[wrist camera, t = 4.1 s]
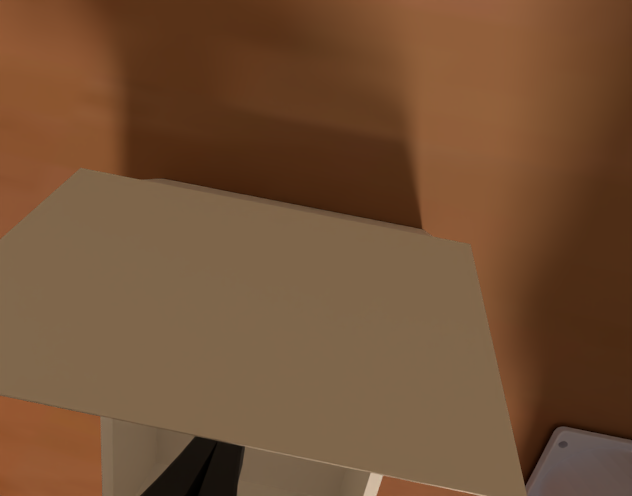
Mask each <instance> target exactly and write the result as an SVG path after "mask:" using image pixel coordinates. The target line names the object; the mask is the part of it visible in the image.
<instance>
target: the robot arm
mask: <svg viewBox="0 0 632 496" xmlns="http://www.w3.org/2000/svg"><path fill="white" fill-rule="evenodd" d="M244 452H245V446H240V445H235V444H230V443H226V442H221V441H216V440H211V439H206V438H202V437H197V436H195V437H194V438H193V439H192V441H191V442H190V443H189V444H188V445H187V446H186V447H185V449H184V450H183V451H182V452H181V453H180V454H179V455H178V457H177V458H176V459H175V460H174V461H173V462H172V463H171V464H170V465H169V466H168V467H167V468H166V470H165V471H164V472H163V473H162V474H161V475H160V476H159V477H158V478H157V479H156V480H155V481H154V482H153V483H152V484H151V485H150V486H149V487H148V488H147V489H146V490H145V491H144V492H143V493H142V494H141V495H140V496H237V487H238V481H239V477H240V473H241V469H242V465H243V458H244ZM525 489H526V493H527V496H632V440H628V439H623V438H619V437H614V436H609V435H604V434H599V433H594V432H589V431H584V430H579V429H574V428H570V427H558V428H556V429H555V431H554V432H553V434H552V436H551V438H550V440H549V442H548V444H547V446H546V448H545V450H544V452H543V453H542V455H541V457H540V459H539V461H538V463H537V465H536V467H535V469H534V471H533V473H532V475H531V477H530V478H529V480H528V482H527V484H526V486H525Z"/></svg>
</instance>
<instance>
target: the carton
mask: <svg viewBox="0 0 632 496" xmlns="http://www.w3.org/2000/svg"><path fill="white" fill-rule="evenodd" d="M145 181H150V182H155V183H160V184H165V185H170V186H175V187H181V188H186V189H191V190H196V191H201V192H206V193H211V194H216V195H221V196H227V197H232V198H237V199H242V200H247V201H252V202H257V203H262V204H268V205H273V206H278V207H283V208H288V209H293V210H298V211H303V212H308V213H314V214H319V215H324V216H329V217H334V218H339V219H344V220H349V221H354V222H360V223H365V224H370V225H375V226H380V227H385V228H390V229H395V230H401V231H406V232H411V233H416V234H421V235H426V236H431V237H433V236H432V235H430V234H429V233H427V232H426V231H425V230H423V229H419V228H414V227H409V226H404V225H398V224H393V223H388V222H383V221H378V220H373V219H368V218H363V217H358V216H352V215H347V214H342V213H337V212H332V211H327V210H322V209H317V208H311V207H306V206H301V205H296V204H291V203H286V202H281V201H276V200H270V199H265V198H260V197H255V196H250V195H245V194H240V193H235V192H229V191H224V190H219V189H214V188H209V187H204V186H199V185H194V184H188V183H183V182H178V181H173V180H168V179H163V178H162V179H145ZM194 437H195V436H192V435H187V434H183V433H178V432H173V431H168V430H163V429H159V428H154V427H149V426H144V425H139V424H135V423H130V422H125V421H120V420H115V419H111V418H106V417H101V456H102V496H140V495H141V494H142V493H143V492H144V491H145V490H146V489H147V488H148V487H149V486H150V485H151V484H152V483H153V482H154V481H155V480H156V479H157V478H158V477H159V476H160V475H161V474H162V473H163V472H164V471H165V470H166V468H167V467H168V466H169V465H170V464H171V463H172V462H173V461H174V460H175V459H176V458H177V457H178V455H179V454H180V453H181V452H182V451H183V450H184V449H185V447H186V446H187V445H188V444H189V443H190V442H191V441H192V439H193V438H194ZM382 477H383V475H379V474H374V473H369V472H365V471H360V470H355V469H350V468H345V467H341V466H336V465H331V464H326V463H321V462H317V461H312V460H307V459H302V458H297V457H293V456H288V455H283V454H278V453H274V452H269V451H264V450H259V449H254V448H250V447H245V452H244V458H243V465H242V469H241V473H240V477H239V481H238V487H237V496H376V495H377V492H378V489H379V486H380V483H381V480H382Z"/></svg>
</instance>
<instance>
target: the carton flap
mask: <svg viewBox="0 0 632 496" xmlns="http://www.w3.org/2000/svg"><path fill="white" fill-rule="evenodd" d="M0 395H1V396H5V397H10V398H15V399H20V400H24V401H29V402H34V403H39V404H44V405H48V406H53V407H58V408H63V409H68V410H72V411H77V412H82V413H87V414H92V415H96V416H101V417H106V418H111V419H115V420H120V421H125V422H130V423H135V424H139V425H144V426H149V427H154V428H159V429H163V430H168V431H173V432H178V433H183V434H187V435H192V436H197V437H202V438H206V439H211V440H216V441H221V442H226V443H230V444H235V445H240V446H245V447H250V448H254V449H259V450H264V451H269V452H274V453H278V454H283V455H288V456H293V457H297V458H302V459H307V460H312V461H317V462H321V463H326V464H331V465H336V466H341V467H345V468H350V469H355V470H360V471H365V472H369V473H374V474H379V475H384V476H388V477H393V478H398V479H403V480H408V481H412V482H417V483H422V484H427V485H432V486H436V487H441V488H446V489H451V490H456V491H460V492H465V493H470V494H475V495H479V496H527V493H526V489H525V484H524V480H523V475H522V471H521V466H520V462H519V458H518V453H517V449H516V444H515V440H514V435H513V431H512V427H511V422H510V418H509V413H508V409H507V404H506V400H505V396H504V391H503V387H502V382H501V378H500V373H499V369H498V365H497V360H496V356H495V351H494V347H493V342H492V338H491V334H490V329H489V325H488V320H487V316H486V311H485V307H484V303H483V298H482V294H481V289H480V285H479V281H478V276H477V272H476V267H475V263H474V258H473V254H472V250H471V245H470V244H467V243H462V242H457V241H452V240H447V239H441V238H436V237H431V236H426V235H421V234H416V233H411V232H406V231H401V230H395V229H390V228H385V227H380V226H375V225H370V224H365V223H360V222H354V221H349V220H344V219H339V218H334V217H329V216H324V215H319V214H314V213H308V212H303V211H298V210H293V209H288V208H283V207H278V206H273V205H268V204H262V203H257V202H252V201H247V200H242V199H237V198H232V197H227V196H221V195H216V194H211V193H206V192H201V191H196V190H191V189H186V188H181V187H175V186H170V185H165V184H160V183H155V182H150V181H145V180H140V179H135V178H129V177H124V176H119V175H114V174H109V173H104V172H99V171H94V170H88V169H83V168H80V169H79V170H78V171H77V172H76V173H74V174H73V175H72V176H71V177H70V178H69V179H68V180H67V181H65V182H64V183H63V184H62V185H61V186H60V187H59V188H58V189H56V190H55V191H54V192H53V193H52V194H51V195H50V196H49V197H47V198H46V199H45V200H44V201H43V202H42V203H41V204H40V205H38V206H37V207H36V208H35V209H34V210H33V211H32V212H31V213H29V214H28V215H27V216H26V217H25V218H24V219H23V220H22V221H20V222H19V223H18V224H17V225H16V226H15V227H14V228H13V229H11V230H10V231H9V232H8V233H7V234H6V235H5V236H4V237H2V238H1V239H0Z"/></svg>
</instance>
